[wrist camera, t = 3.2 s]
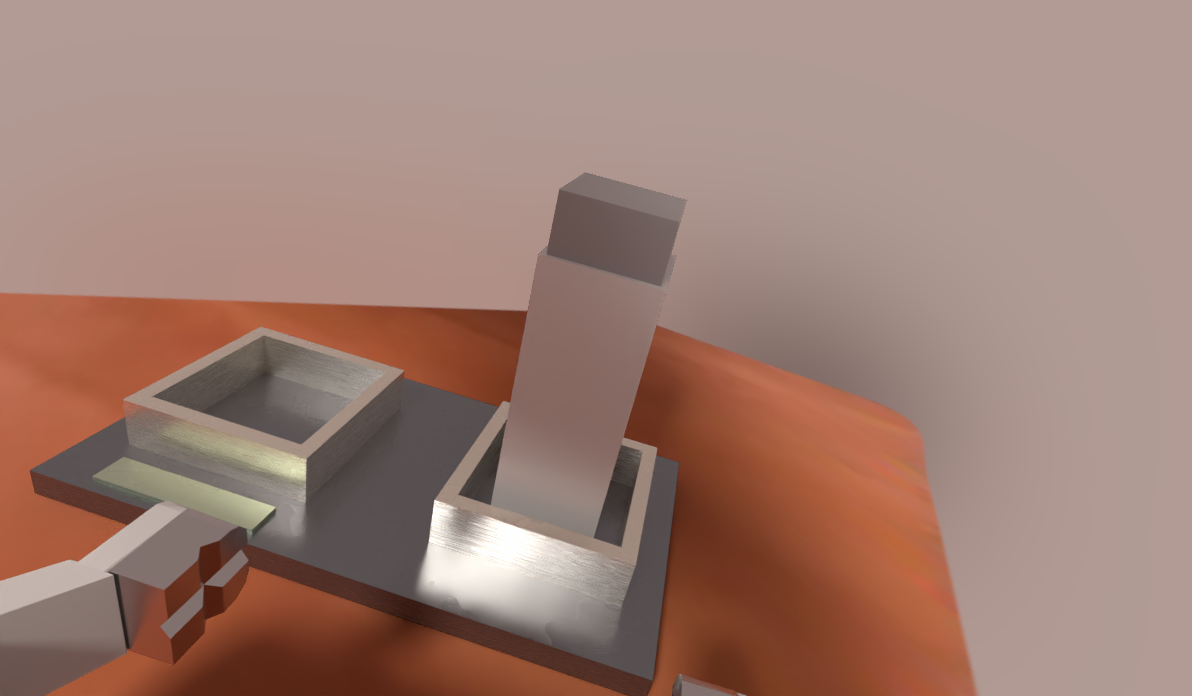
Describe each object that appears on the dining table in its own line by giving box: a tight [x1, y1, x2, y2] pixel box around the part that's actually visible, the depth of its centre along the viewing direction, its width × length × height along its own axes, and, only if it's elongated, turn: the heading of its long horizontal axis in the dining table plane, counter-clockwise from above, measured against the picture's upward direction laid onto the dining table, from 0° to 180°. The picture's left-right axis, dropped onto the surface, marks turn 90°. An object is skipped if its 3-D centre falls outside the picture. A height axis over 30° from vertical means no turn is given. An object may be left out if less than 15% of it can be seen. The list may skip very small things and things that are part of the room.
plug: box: [491, 173, 687, 538], centre depth 22 cm, size 4×5×13 cm
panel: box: [30, 327, 679, 696], centre depth 25 cm, size 22×12×3 cm, turn 79°
